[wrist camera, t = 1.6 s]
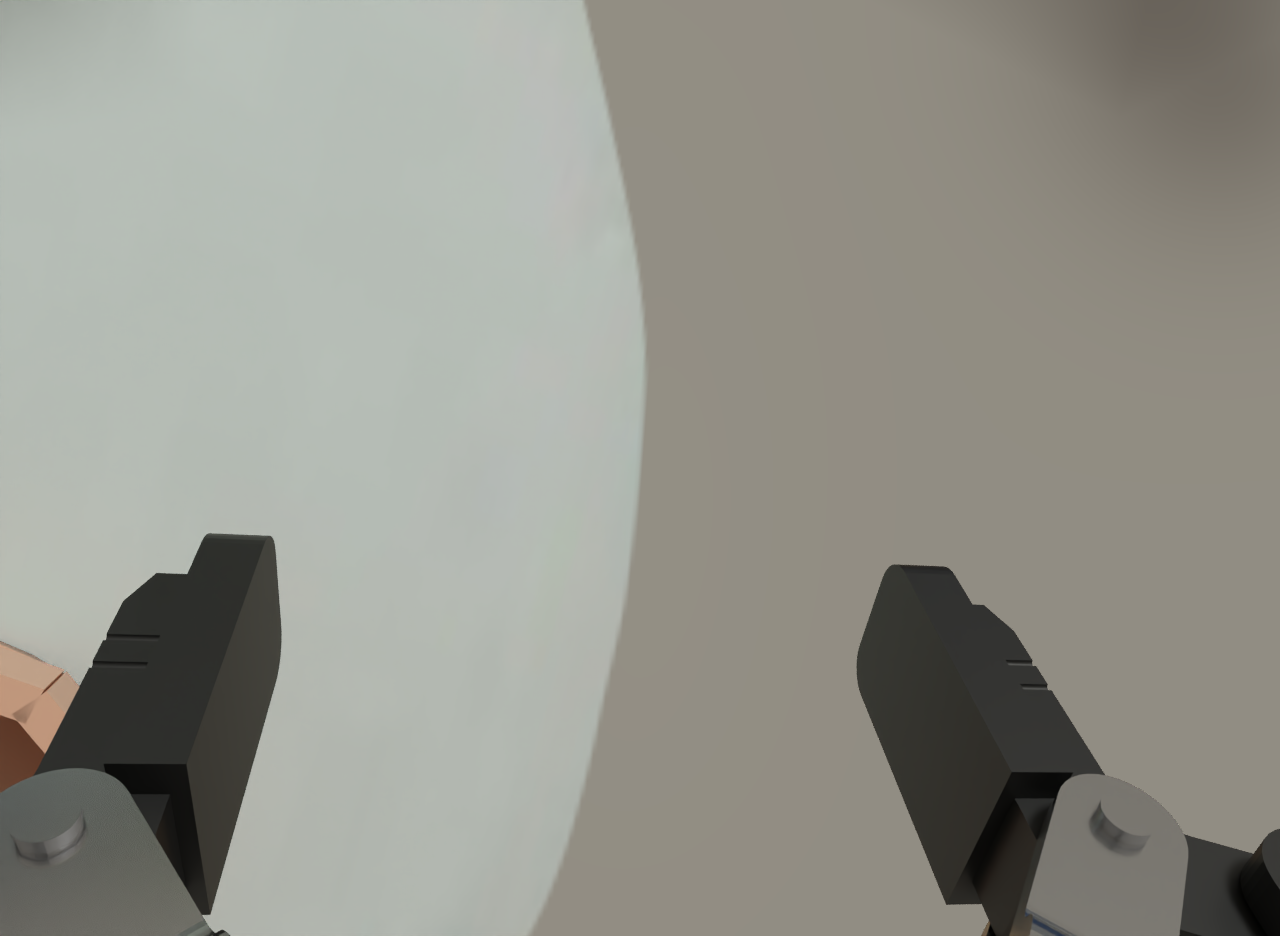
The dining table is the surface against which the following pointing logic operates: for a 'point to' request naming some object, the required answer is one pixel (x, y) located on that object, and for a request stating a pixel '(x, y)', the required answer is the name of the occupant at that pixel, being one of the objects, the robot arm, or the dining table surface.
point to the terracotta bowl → (29, 711)
